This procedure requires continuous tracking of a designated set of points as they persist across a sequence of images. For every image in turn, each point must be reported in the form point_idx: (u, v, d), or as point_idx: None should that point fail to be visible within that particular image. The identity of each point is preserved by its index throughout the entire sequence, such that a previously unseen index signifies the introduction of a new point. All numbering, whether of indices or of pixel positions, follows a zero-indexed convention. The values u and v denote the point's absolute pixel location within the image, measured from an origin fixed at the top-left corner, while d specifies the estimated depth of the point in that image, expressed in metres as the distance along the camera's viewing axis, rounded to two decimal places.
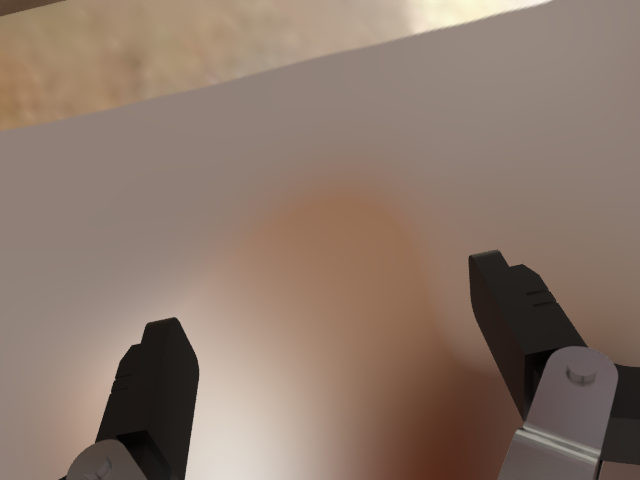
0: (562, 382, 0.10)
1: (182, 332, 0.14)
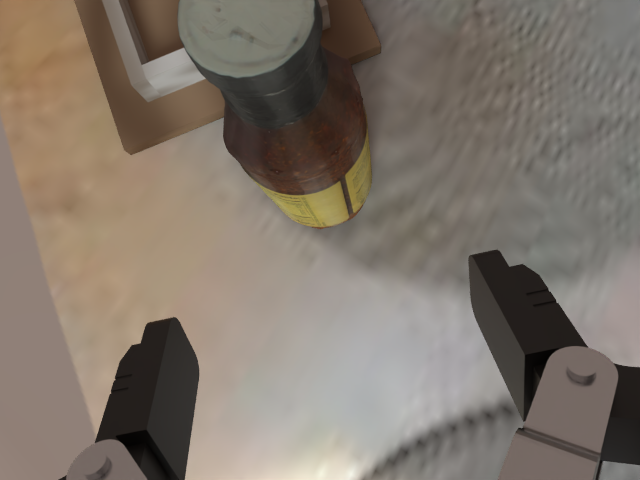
0: (562, 382, 0.10)
1: (182, 332, 0.14)
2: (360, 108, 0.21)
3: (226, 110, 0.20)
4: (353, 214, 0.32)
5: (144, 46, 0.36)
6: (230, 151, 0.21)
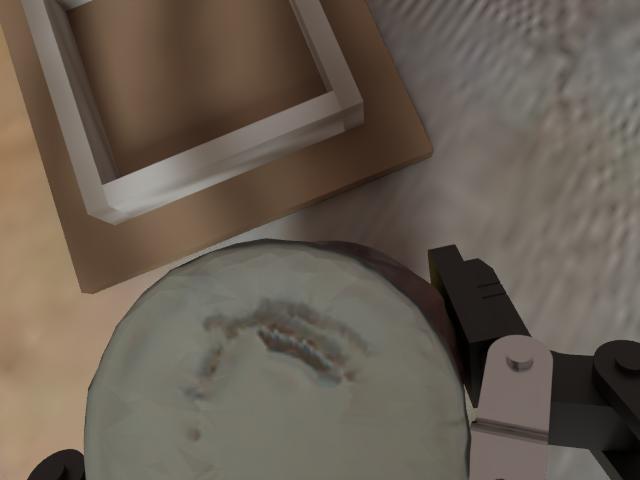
0: (504, 371, 0.10)
1: None
2: (462, 383, 0.12)
3: None
4: None
5: (110, 146, 0.26)
6: None
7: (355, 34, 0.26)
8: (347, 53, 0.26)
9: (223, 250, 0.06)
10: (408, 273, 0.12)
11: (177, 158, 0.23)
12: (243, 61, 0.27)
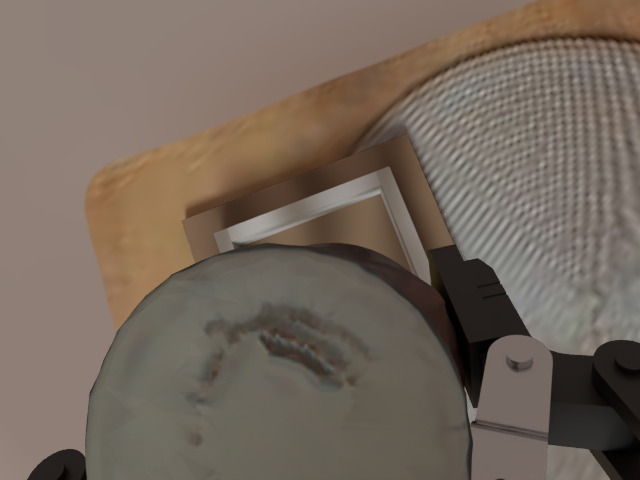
0: (504, 371, 0.10)
1: None
2: (463, 385, 0.12)
3: None
4: None
5: None
6: None
7: None
8: None
9: (224, 254, 0.06)
10: (409, 275, 0.12)
11: None
12: None
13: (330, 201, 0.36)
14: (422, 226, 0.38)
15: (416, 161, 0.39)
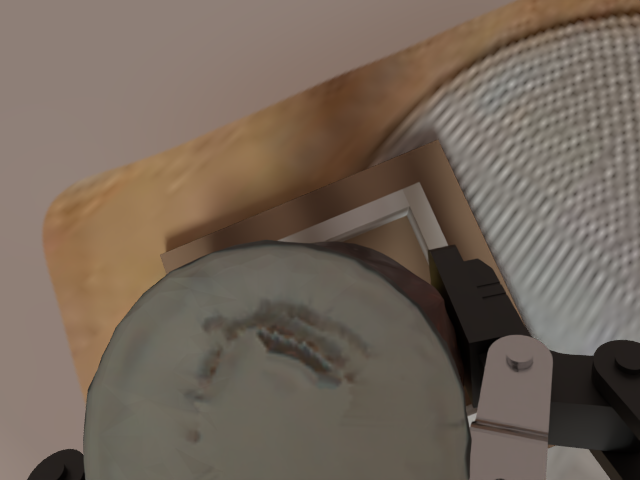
0: (504, 371, 0.10)
1: None
2: (462, 384, 0.12)
3: None
4: None
5: None
6: None
7: None
8: None
9: (223, 251, 0.06)
10: (408, 273, 0.12)
11: None
12: None
13: (345, 228, 0.29)
14: (461, 255, 0.30)
15: (451, 173, 0.31)
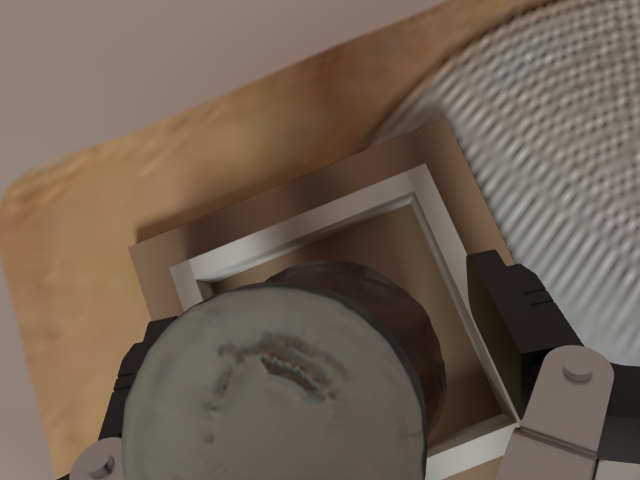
0: (558, 381, 0.10)
1: None
2: (444, 393, 0.13)
3: None
4: None
5: None
6: None
7: None
8: None
9: (234, 291, 0.07)
10: (399, 292, 0.14)
11: None
12: None
13: (339, 217, 0.25)
14: (473, 249, 0.26)
15: (460, 156, 0.27)
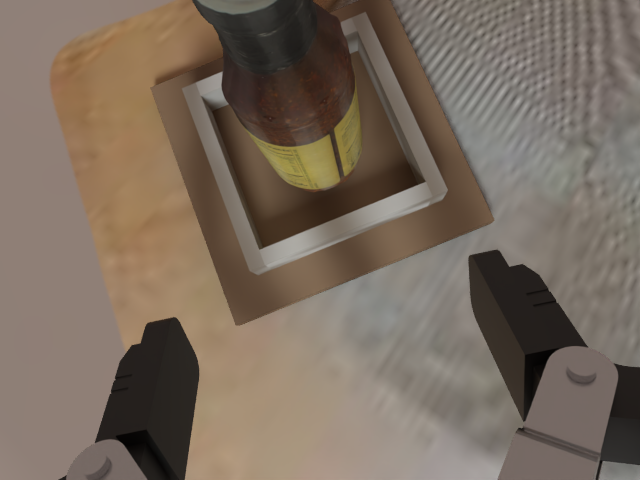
0: (562, 382, 0.10)
1: (182, 332, 0.14)
2: (348, 62, 0.23)
3: (224, 59, 0.21)
4: (344, 178, 0.34)
5: (252, 215, 0.35)
6: (227, 100, 0.23)
7: (433, 132, 0.35)
8: (428, 146, 0.35)
9: None
10: None
11: (313, 230, 0.32)
12: None
13: None
14: (403, 81, 0.36)
15: (395, 16, 0.37)
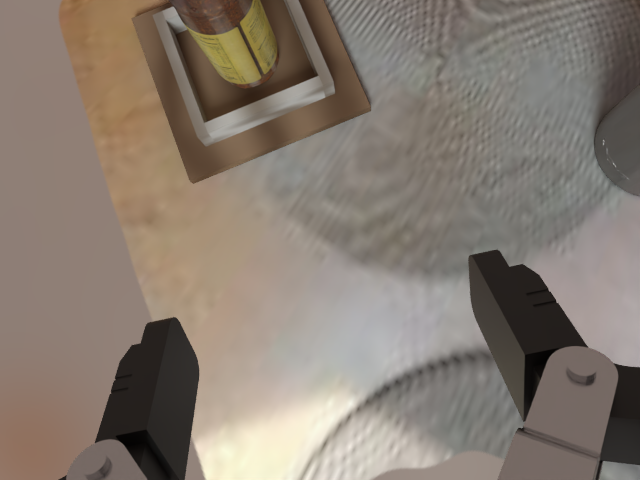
0: (562, 382, 0.10)
1: (182, 332, 0.14)
2: None
3: None
4: (265, 77, 0.49)
5: (202, 106, 0.50)
6: None
7: (331, 47, 0.50)
8: (326, 57, 0.50)
9: None
10: None
11: (241, 109, 0.47)
12: None
13: None
14: (310, 12, 0.51)
15: None
